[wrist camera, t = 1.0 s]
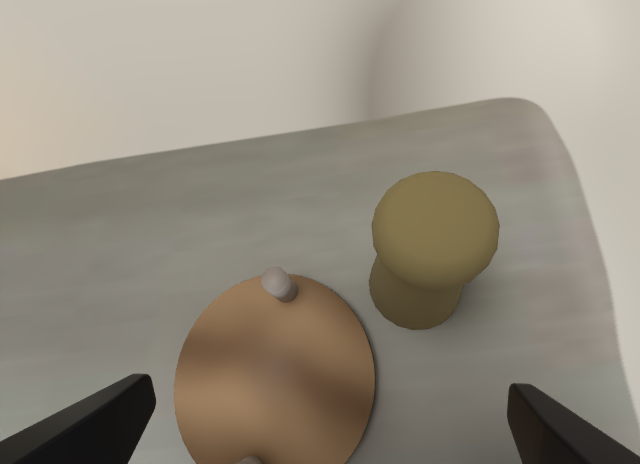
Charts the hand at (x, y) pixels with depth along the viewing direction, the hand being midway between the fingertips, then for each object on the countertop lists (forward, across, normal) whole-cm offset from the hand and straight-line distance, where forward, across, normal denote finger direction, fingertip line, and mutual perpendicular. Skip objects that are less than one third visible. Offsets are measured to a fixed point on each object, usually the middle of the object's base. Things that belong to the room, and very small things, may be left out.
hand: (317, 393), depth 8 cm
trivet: (+12, +5, +8) cm, 15 cm away
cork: (+15, -4, +4) cm, 16 cm away
